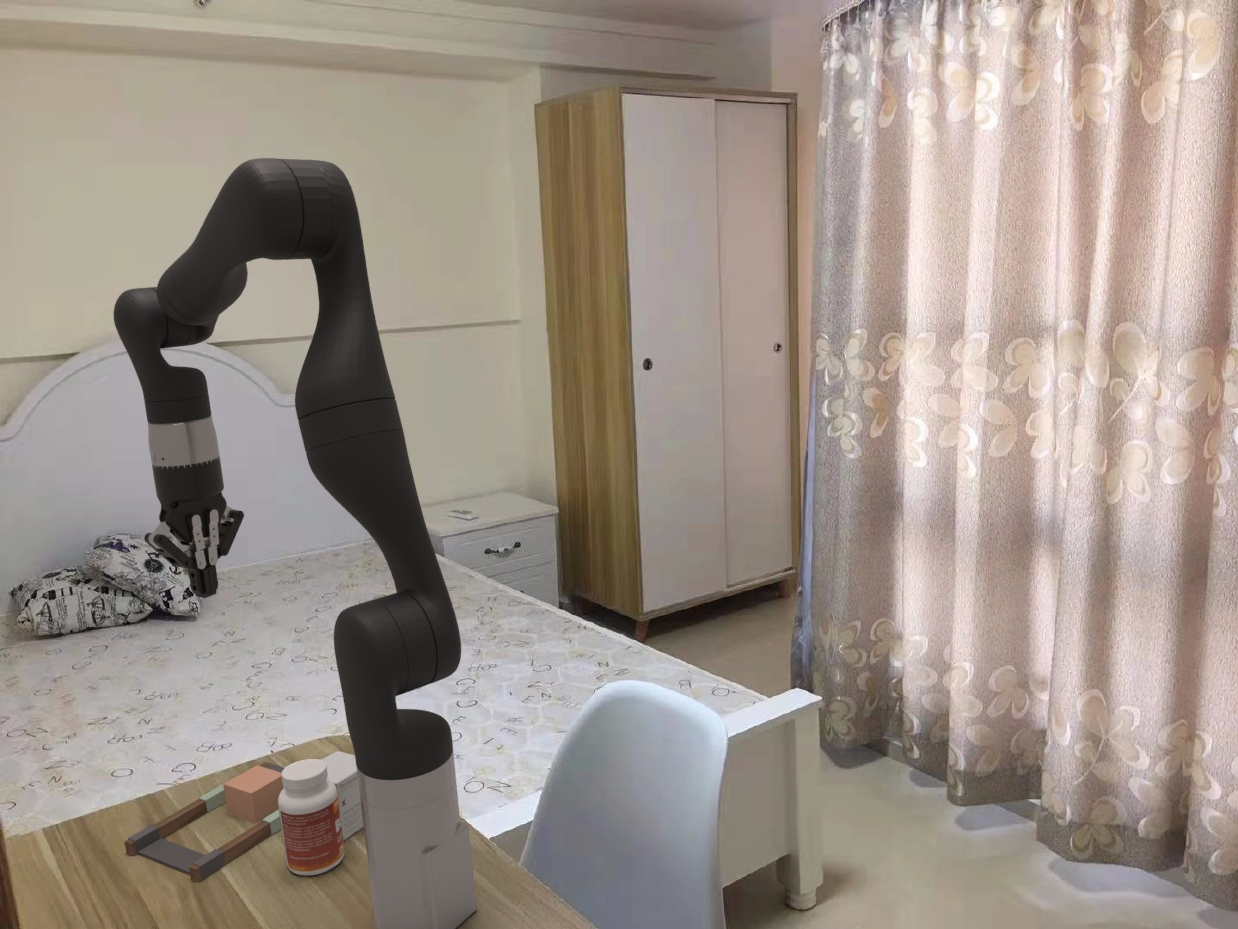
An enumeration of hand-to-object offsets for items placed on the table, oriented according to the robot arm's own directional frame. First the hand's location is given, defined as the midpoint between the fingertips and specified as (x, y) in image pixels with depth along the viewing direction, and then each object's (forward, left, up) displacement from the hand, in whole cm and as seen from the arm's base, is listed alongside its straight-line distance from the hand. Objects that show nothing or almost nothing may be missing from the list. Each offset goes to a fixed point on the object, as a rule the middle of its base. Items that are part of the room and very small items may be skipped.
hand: (206, 595), depth 128 cm
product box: (-20, +1, -25) cm, 32 cm away
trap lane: (-8, +7, -25) cm, 27 cm away
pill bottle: (-23, +8, -25) cm, 35 cm away
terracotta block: (-8, +3, -25) cm, 27 cm away
